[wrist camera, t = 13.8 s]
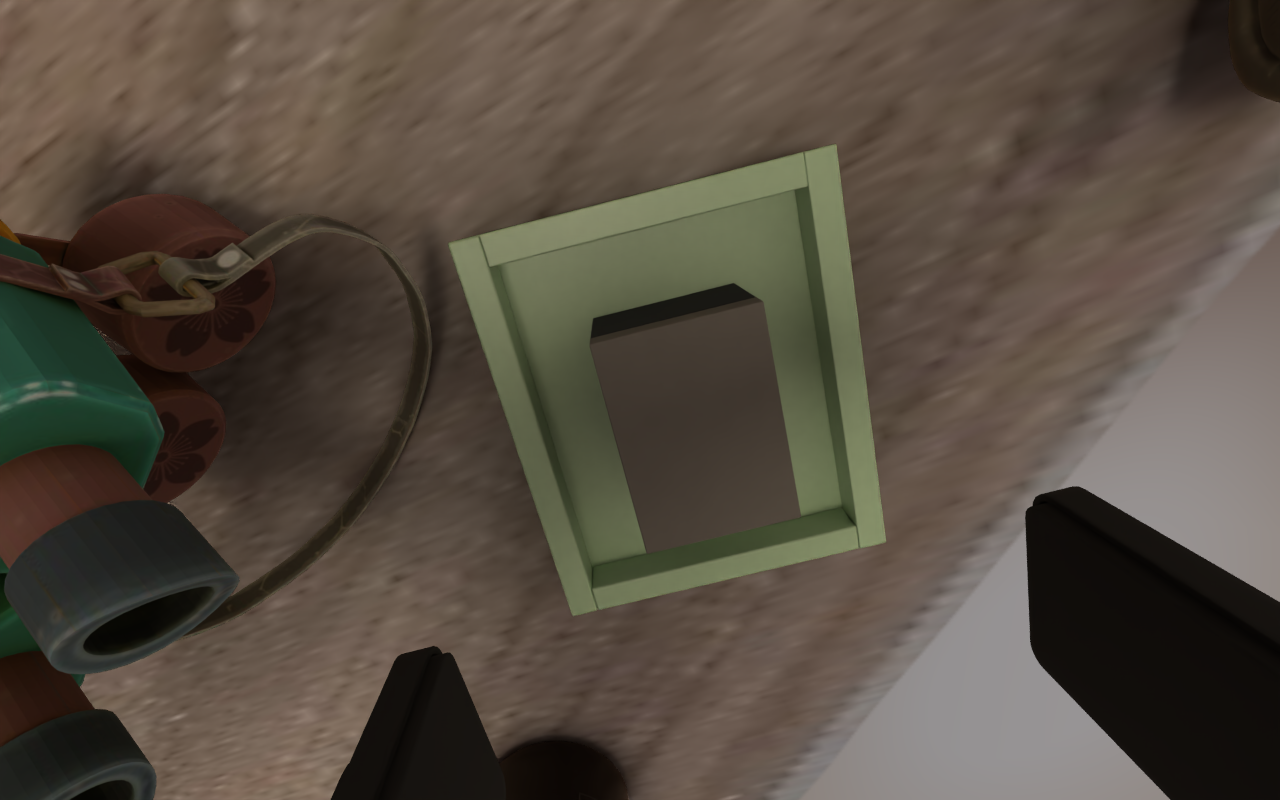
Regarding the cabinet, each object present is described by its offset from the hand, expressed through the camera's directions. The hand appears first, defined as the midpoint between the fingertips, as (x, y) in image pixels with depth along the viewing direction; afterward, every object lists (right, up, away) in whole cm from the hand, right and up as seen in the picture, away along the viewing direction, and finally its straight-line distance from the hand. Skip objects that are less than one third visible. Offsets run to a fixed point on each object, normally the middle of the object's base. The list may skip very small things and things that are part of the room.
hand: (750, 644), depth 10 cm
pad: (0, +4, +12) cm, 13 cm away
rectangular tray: (0, +4, +13) cm, 14 cm away
